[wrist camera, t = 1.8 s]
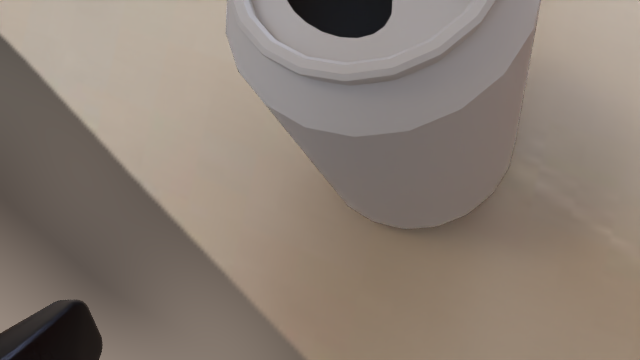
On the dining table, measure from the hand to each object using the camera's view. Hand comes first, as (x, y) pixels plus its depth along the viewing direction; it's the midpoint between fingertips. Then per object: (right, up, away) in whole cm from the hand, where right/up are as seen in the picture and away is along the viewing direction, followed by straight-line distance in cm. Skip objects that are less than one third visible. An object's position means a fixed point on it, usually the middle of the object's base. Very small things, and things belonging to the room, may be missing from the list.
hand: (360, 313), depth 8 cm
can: (+3, +3, +15) cm, 16 cm away
